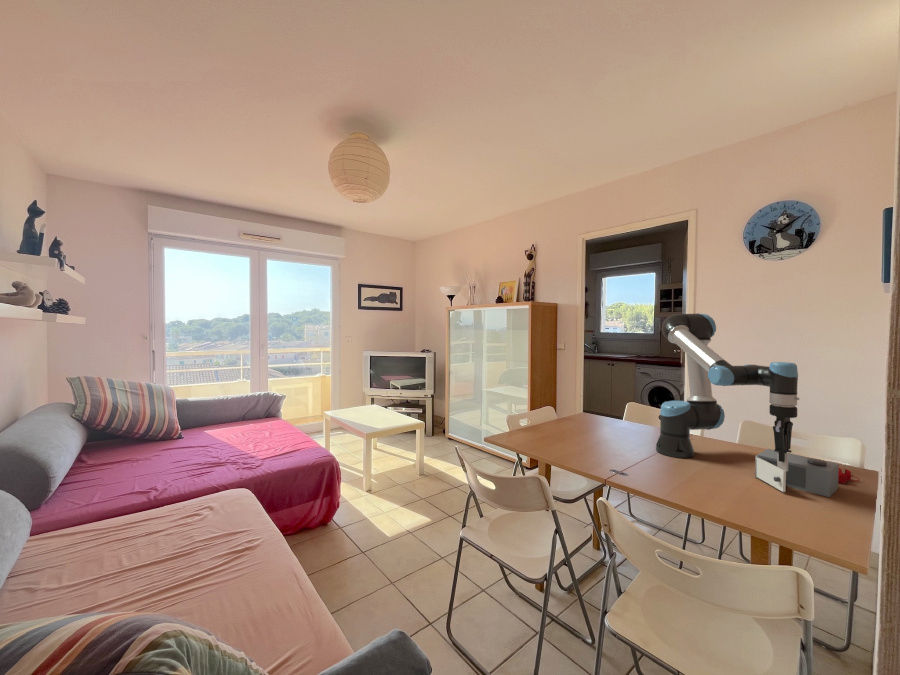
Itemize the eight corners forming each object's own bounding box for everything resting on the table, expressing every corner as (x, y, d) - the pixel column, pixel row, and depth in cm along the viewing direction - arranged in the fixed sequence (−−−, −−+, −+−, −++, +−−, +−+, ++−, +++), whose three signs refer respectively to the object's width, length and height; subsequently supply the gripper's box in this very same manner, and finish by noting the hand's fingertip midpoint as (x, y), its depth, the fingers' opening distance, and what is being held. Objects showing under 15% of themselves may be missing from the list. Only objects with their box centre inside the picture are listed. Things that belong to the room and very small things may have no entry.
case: (756, 477, 144) (757, 452, 144) (767, 470, 151) (768, 446, 151) (829, 497, 128) (830, 468, 127) (838, 488, 134) (838, 461, 134)
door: (751, 476, 144) (751, 455, 144) (757, 476, 144) (757, 455, 144) (779, 492, 131) (779, 469, 130) (785, 493, 130) (786, 469, 130)
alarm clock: (808, 459, 153) (860, 463, 140) (812, 475, 152) (865, 480, 139) (797, 464, 148) (850, 468, 135) (801, 481, 147) (855, 486, 134)
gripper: (791, 409, 128) (790, 477, 129) (802, 404, 135) (802, 469, 136) (763, 405, 134) (763, 470, 135) (776, 401, 142) (775, 463, 142)
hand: (782, 469), depth 135 cm, fingers closed
